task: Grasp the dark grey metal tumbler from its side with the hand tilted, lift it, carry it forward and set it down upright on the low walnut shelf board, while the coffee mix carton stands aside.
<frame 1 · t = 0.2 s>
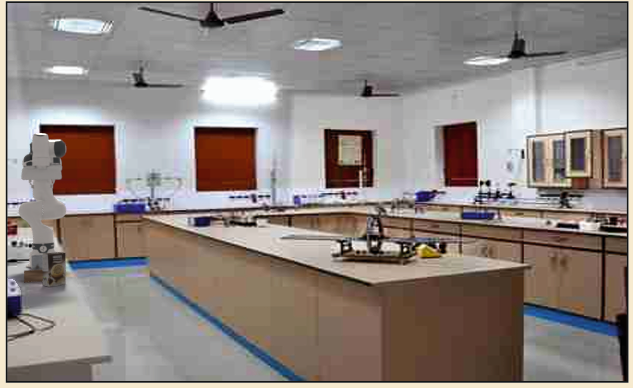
hand: (42, 188, 331), 48 cm above the counter, tool pointing down, fingers open, 8 cm apart
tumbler: (37, 275, 329), on the counter
shelf: (39, 279, 315), on the counter
coffee box: (54, 285, 301), on the counter
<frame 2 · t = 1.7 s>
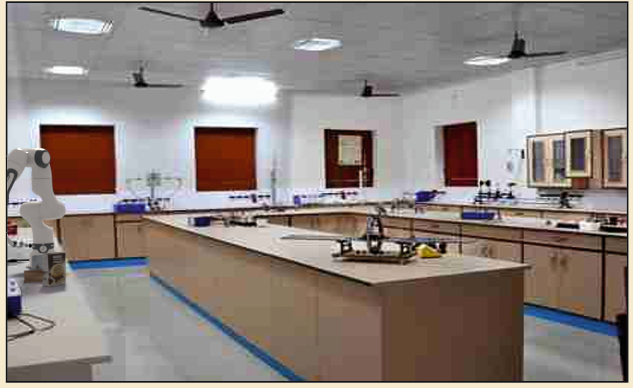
hand: (13, 244, 323), 17 cm above the counter, tool tilted 45°, fingers open, 8 cm apart
nothing on the counter moved.
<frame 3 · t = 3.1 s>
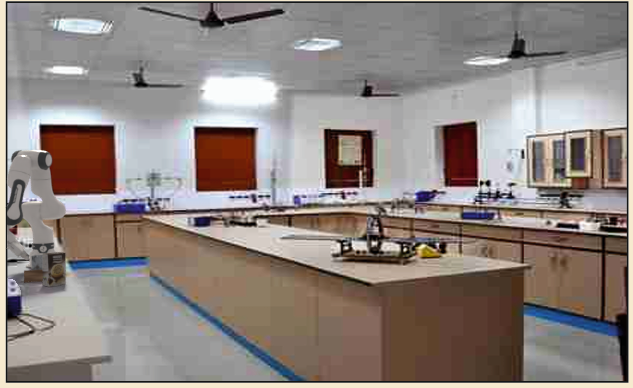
hand: (28, 258, 327), 10 cm above the counter, tool tilted 45°, fingers open, 8 cm apart
nothing on the counter moved.
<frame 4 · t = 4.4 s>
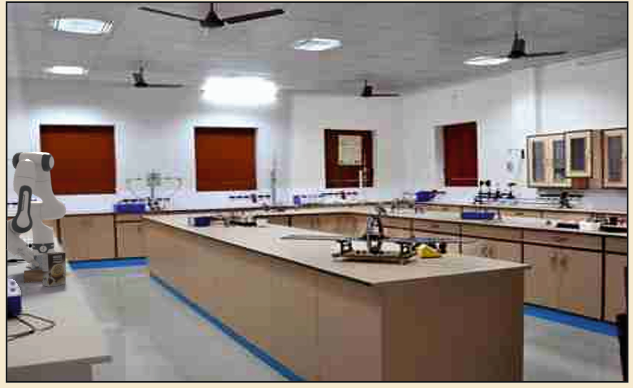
hand: (38, 264, 329), 6 cm above the counter, tool tilted 45°, fingers closed on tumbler, 6 cm apart
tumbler: (37, 275, 329), on the counter, touching gripper
everything else where it was.
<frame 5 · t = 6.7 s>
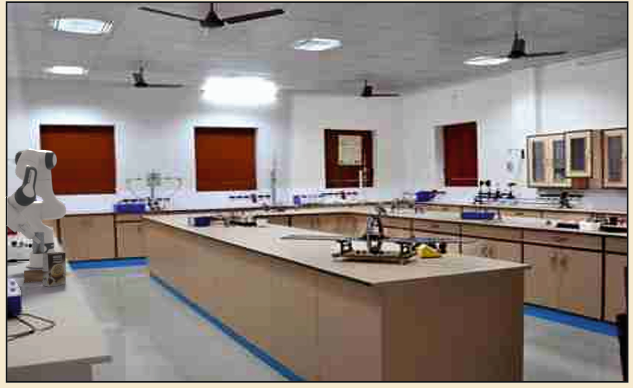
hand: (39, 242, 315), 20 cm above the counter, tool tilted 45°, fingers closed on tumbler, 6 cm apart
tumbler: (38, 253, 315), point 14 cm above the counter, touching gripper
everything else where it was.
when the fingers open (10 cm above the counter, at t = 9.0 s): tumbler stays where it is, resting on shelf.
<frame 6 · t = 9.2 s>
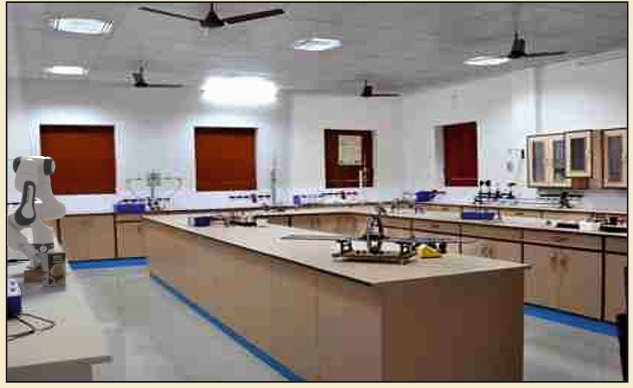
hand: (40, 260, 316), 10 cm above the counter, tool tilted 45°, fingers open, 8 cm apart
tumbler: (39, 274, 316), point 3 cm above the counter, touching shelf
everything else where it was.
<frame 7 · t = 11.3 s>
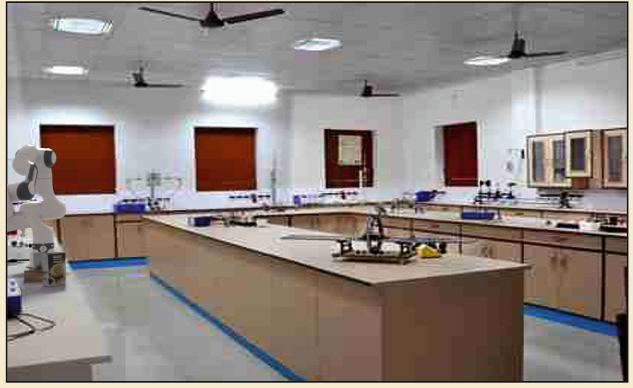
hand: (15, 238, 313), 22 cm above the counter, tool tilted 20°, fingers open, 8 cm apart
nothing on the counter moved.
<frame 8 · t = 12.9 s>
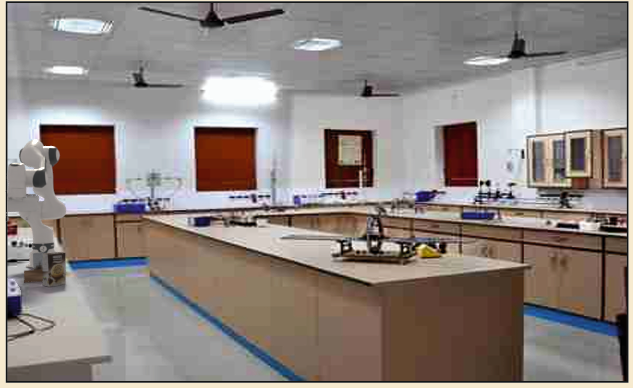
hand: (17, 220, 314), 31 cm above the counter, tool pointing down, fingers open, 8 cm apart
nothing on the counter moved.
at the end: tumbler inside the target area on the shelf (0.1 cm from its centre), point 3.0 cm above the shelf's base; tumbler tilted 1°; the gripper is holding nothing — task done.
